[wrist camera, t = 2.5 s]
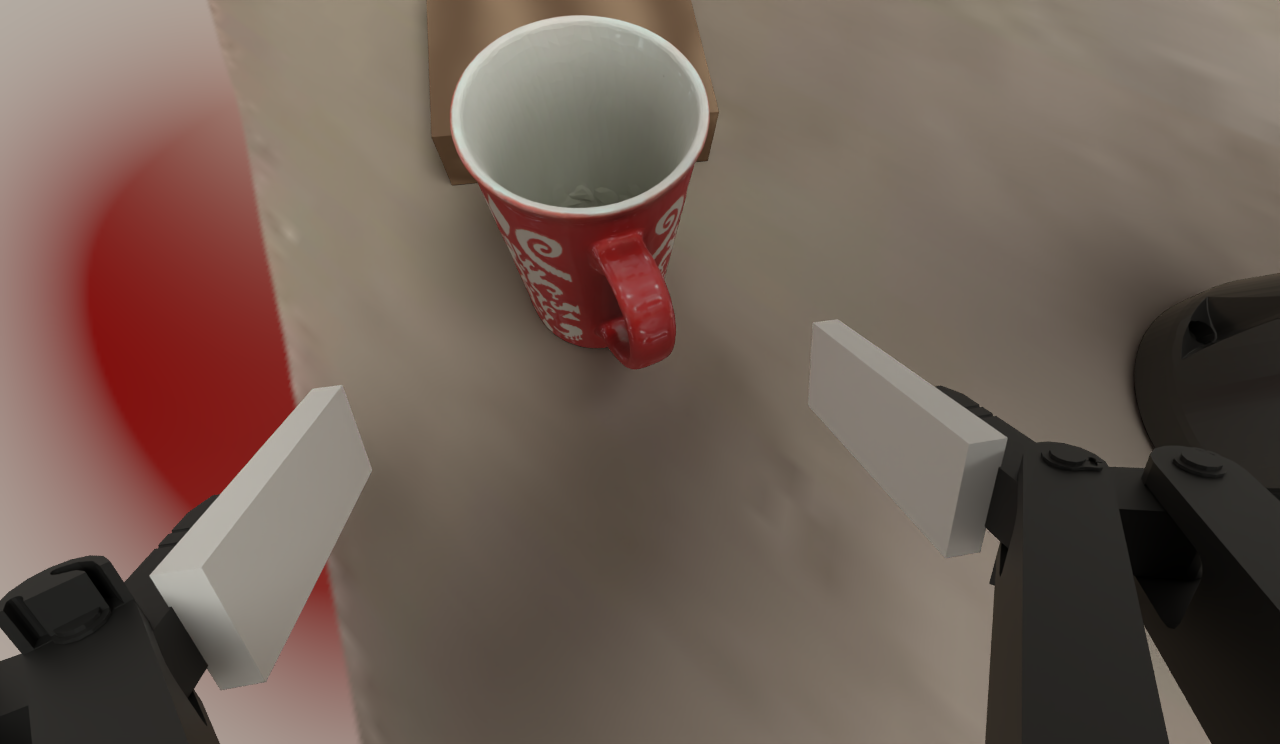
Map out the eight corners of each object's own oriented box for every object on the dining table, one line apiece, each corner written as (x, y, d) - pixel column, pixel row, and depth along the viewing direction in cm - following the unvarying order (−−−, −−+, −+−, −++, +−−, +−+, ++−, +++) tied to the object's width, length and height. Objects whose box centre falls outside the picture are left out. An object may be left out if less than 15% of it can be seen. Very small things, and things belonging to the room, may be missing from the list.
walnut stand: (665, -17, 40) (671, -78, 37) (707, 160, 35) (718, 111, 31) (442, -3, 39) (424, -64, 35) (452, 185, 34) (431, 137, 30)
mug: (499, 243, 33) (426, 35, 20) (645, 208, 34) (664, -8, 21) (553, 445, 29) (504, 349, 16) (716, 397, 30) (791, 272, 17)
